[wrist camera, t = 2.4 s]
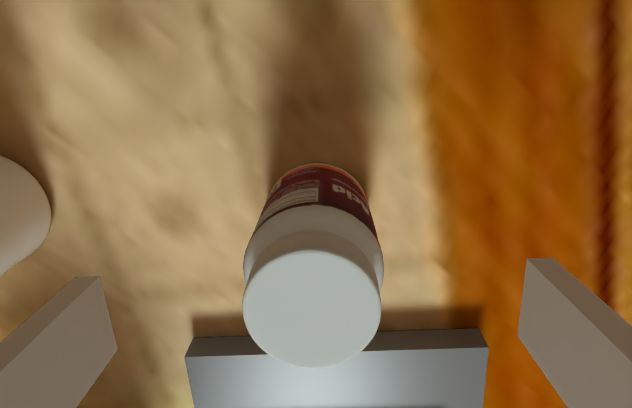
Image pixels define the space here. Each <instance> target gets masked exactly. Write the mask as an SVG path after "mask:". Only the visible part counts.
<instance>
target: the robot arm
mask: <svg viewBox="0 0 632 408" xmlns="http://www.w3.org/2000/svg"><path fill="white" fill-rule="evenodd" d="M518 337H519V339H520V340H521V342H522V343H523V344H524V346H525V347H526V349H527V350H528V352H529V353H530V354H531V356H532V357H533V359H534V360H535V362H536V363H537V364H538V366H539V367H540V369H541V370H542V372H543V373H544V374H545V376H546V377H547V379H548V380H549V382H550V383H551V384H552V386H553V387H554V389H555V390H556V392H557V393H558V394H559V396H560V397H561V399H562V400H563V402H564V403H565V404H566V406H567V407H568V408H632V326H631V325H630V324H629V323H627V322H626V321H625V320H624V319H623V318H622V317H621V316H619V315H618V314H617V313H616V312H615V311H614V310H612V309H611V308H610V307H609V306H608V305H607V304H606V303H604V302H603V301H602V300H601V299H600V298H599V297H597V296H596V295H595V294H594V293H593V292H592V291H591V290H589V289H588V288H587V287H586V286H585V285H584V284H582V283H581V282H580V281H579V280H578V279H577V278H576V277H574V276H573V275H572V274H571V273H570V272H569V271H567V270H566V269H565V268H564V267H563V266H562V265H561V264H559V263H558V262H557V261H556V260H555V259H554V258H535V259H527V262H526V270H525V279H524V287H523V296H522V304H521V313H520V321H519V329H518ZM117 350H118V348H117V344H116V340H115V336H114V332H113V328H112V324H111V320H110V316H109V312H108V308H107V304H106V300H105V296H104V292H103V288H102V284H101V280H100V276H93V277H75V278H74V279H73V280H72V281H71V282H70V283H68V284H67V285H66V286H65V287H64V288H63V289H61V290H60V291H59V292H58V293H57V294H56V295H55V296H53V297H52V298H51V299H50V300H49V301H48V302H47V303H45V304H44V305H43V306H42V307H41V308H40V309H39V310H37V311H36V312H35V313H34V314H33V315H32V316H31V317H29V318H28V319H27V320H26V321H25V322H24V323H23V324H21V325H20V326H19V327H18V328H17V329H16V330H15V331H13V332H12V333H11V334H10V335H9V336H8V337H7V338H5V339H4V340H3V341H2V342H1V343H0V408H77V406H78V405H79V404H80V402H81V401H82V399H83V398H84V397H85V395H86V394H87V392H88V391H89V390H90V388H91V387H92V385H93V384H94V383H95V381H96V380H97V378H98V377H99V376H100V374H101V373H102V371H103V370H104V369H105V367H106V366H107V364H108V363H109V362H110V360H111V359H112V357H113V356H114V355H115V353H116V352H117Z"/></svg>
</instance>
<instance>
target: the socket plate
mask: <svg viewBox="0 0 632 408" xmlns="http://www.w3.org/2000/svg"><path fill="white" fill-rule="evenodd" d="M488 351H489V347H488V345H487V343H486V341H485V340H484V338H483V336H482V334H481V332H480V330H479V329H478V328H472V329H442V330H412V331H382V332H376V333H375V335H374V337H373V339H372V340H371V341H370V343H369V344H368V345H367V346H366V347H365V348H364V349H363V350H362V351H361V352H360V353H358V354H357V355H356V356H354V357H353V358H351V359H349V360H348V361H345V362H343V363H340V364H337V365H334V366H330V367H323V368H301V367H296V366H292V365H289V364H286V363H283V362H281V361H279V360H277V359H275V358H273V357H271V356H270V355H268V354H267V353H266V352H265V351H263V350H262V349H261V348H260V347H259V346H258V345H257V344H256V343H255V341H254V340H253V339H252V337H251V336H233V337H203V338H193V340H192V342H191V344H190V346H189V348H188V351H187V353H186V355H185V362H186V367H187V372H188V377H189V382H190V387H191V392H192V397H193V402H194V407H195V408H483V399H484V390H485V380H486V370H487V361H488Z"/></svg>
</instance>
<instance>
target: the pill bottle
mask: <svg viewBox="0 0 632 408" xmlns="http://www.w3.org/2000/svg"><path fill="white" fill-rule="evenodd" d="M243 270H244V279H245V283H246V287H245V291H244V295H243V301H242V310H243V318H244V322H245V325H246V328H247V330H248V332H249V334H250V335H251V337H252V339H253V340H254V341H255V343H256V344H257V345H258V346H259V347H260V348H261V349H262V350H263V351H265V352H266V353H267V354H268V355H270V356H271V357H273V358H275V359H277V360H279V361H281V362H283V363H286V364H289V365H292V366H296V367H301V368H323V367H330V366H334V365H337V364H340V363H343V362H345V361H348V360H349V359H351V358H353V357H354V356H356V355H357V354H358V353H360V352H361V351H362V350H363V349H364V348H365V347H366V346H367V345H368V344H369V343H370V341H371V340H372V339H373V337H374V335H375V333H376V331H377V329H378V326H379V323H380V319H381V298H380V289H381V286H382V282H383V276H384V264H383V255H382V251H381V247H380V244H379V241H378V237H377V233H376V230H375V226H374V222H373V219H372V216H371V212H370V209H369V205H368V202H367V198H366V196H365V193H364V191H363V189H362V187H361V186H360V184H359V183H358V182H357V181H356V180H355V179H354V178H353V176H351V175H350V174H349V173H348V172H346V171H345V170H343V169H341V168H339V167H336V166H333V165H330V164H324V163H310V164H305V165H301V166H298V167H296V168H293V169H291V170H290V171H288V172H286V173H285V174H284V175H283V176H282V177H281V178H280V179H279V180H278V181H277V182H276V183H275V185H274V186H273V188H272V190H271V192H270V194H269V196H268V199H267V201H266V203H265V206H264V208H263V211H262V213H261V215H260V218H259V220H258V223H257V225H256V228H255V230H254V232H253V235H252V237H251V239H250V241H249V243H248V246H247V248H246V251H245V255H244V263H243Z"/></svg>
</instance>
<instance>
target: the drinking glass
mask: <svg viewBox="0 0 632 408" xmlns="http://www.w3.org/2000/svg"><path fill="white" fill-rule="evenodd" d="M50 226H51V209H50V204H49V201H48V198H47V196H46V194H45V192H44V190H43V188H42V187H41V185H40V184H39V183H38V181H37V180H36V179H35V178H34V177H33V176H32V175H31V174H30V173H29V172H28V171H27V170H26V169H25V168H23V167H22V166H20V165H19V164H17V163H16V162H14V161H12V160H10V159H8V158H5V157H3V156H0V277H1V276H2V275H3V274H5V273H6V272H7V271H8V270H9V269H11V268H12V267H13V266H15V265H16V264H18V263H19V262H21V261H22V260H24V259H25V258H26V257H28V256H29V255H31V254H32V253H33V252H34V251H36V250H37V249H38V248H39V247H40V246H41V245H42V243H43V242H44V241H45V239H46V237H47V235H48V232H49V230H50Z"/></svg>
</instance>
